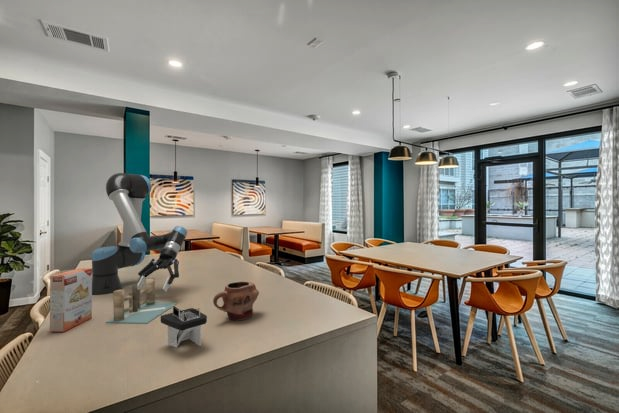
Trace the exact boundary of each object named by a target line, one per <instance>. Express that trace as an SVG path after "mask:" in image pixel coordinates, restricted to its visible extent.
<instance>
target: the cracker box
mask: <svg viewBox="0 0 619 413" xmlns="http://www.w3.org/2000/svg"><path fill="white" fill-rule="evenodd" d="M49 283H50V284H49V286H50V287H49V332H50V333H52V332H53V333H58V332H59V333H66V332H67V331H69V330H72V329H73V328H75V327H77V326H79V325H81V324H84V323H86V322H87V321H89V320H91V319H92V318H93V314H92V313H93V312H92V311H93V294H92V267H91V268H90V267H86V268H85V267H84V268H83V267H81V268H80V267H79V268H76V269H72V270H68V271H64V272H59V273H56V274H51V275H50V278H49Z"/></svg>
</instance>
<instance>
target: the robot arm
mask: <svg viewBox="0 0 619 413" xmlns="http://www.w3.org/2000/svg"><path fill="white" fill-rule="evenodd" d="M105 192H106V194H107V197H108V199H109V200H110V201H112V202H113V204H114V207H115V208H116V210H117V212H118V215H119V216H120V218H121V221H122V223H123V224H122V232H121V233H122V236H121V241H120V242H119V243H117V244H118V245H117V246H115V245H110V246H104V247H103V246H102V247H100V248H97V249H94V250H93V251H92V252H91V254H92V255H91V269H92V295H105V294H110V293H113V291H116V290H123V288H122V287H123V286H122V282H121V279H120V276H119V269H123V268H124V269H125V268H129V267H134V266H135V267H136V266H138V265H140V264H141V263H142V262H143V261H144V260H145V256H146V252H151V251H161V252H160V254H159V257H158V259H155V258H152V259H151V260H150V262H148V263H147V265H145V266H144V267H143V268H142V269H141V270H140V271H138V273H137V275H138V276H139V278H138V281H137V285H138V289H140V291H142V288H143V286H144V284H145V283H146V279H147V277H149V276H150V275H151V274H153V273H154V272H156V271H159V270H162V269H163V270H166V269H167V270H168V271H167V272H168V273H169V275H168V277H167V278H166V280H165V282H164V285H163V286H162V290H163V291H164V292H168V290H169V287H170V285H172V284H173V282H174V280H175V278H176V279H178V278H180V274H179V273H180V272H179V263H180V261H179V260H178V259H177V256H178V254H179V252H180V250H181V248H182V245H183V244H184V242H185V240H186V238H187V235H188V230H187V229H186V228H185V227H184V226H180V225H178V226H175V227H173V229H172V231H170V232H167V233H164V234H159V235H149V234H148V233H147V230H146V228H145V227H144V225H143V222H142V221H141V220H142V218H141V217H142V211H143V202H144V200H146V198H147V197H146V196H148V195H149V194H150V193H151V192H152V183H151V180H150V179H149V178H148V176H145V175H142V174H136V173H135V174H133V173H125V172H119V173H118V172H117V173H114V174H112V175H111V176H110V177H109V178H108V179H107V181H106V184H105ZM172 265H173V269H172V267H171V266H172Z"/></svg>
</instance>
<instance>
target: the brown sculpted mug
mask: <svg viewBox="0 0 619 413" xmlns="http://www.w3.org/2000/svg"><path fill="white" fill-rule="evenodd" d="M259 294H260V292H259V290H258V289H257V287H256V285H255V283H254V282H252V281H238V282H230V283H227V284H226V285H225V287H224V291H221V292H218V293H217V294H216V295H214V297H213V300H212V301H213V302H212V303H213V305H214V307H215V308H216V309H218V310H220V311H223V312H224V313H226V315H227V317H228V319H229V320H231V321H243V320H246V319H249V318H251V317H252V316H253V314H254V309H253V306H254V304H255V302H256V300H257V298H258V296H259ZM219 299H222V303H223V305H222V306H219V305H218V300H219Z"/></svg>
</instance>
